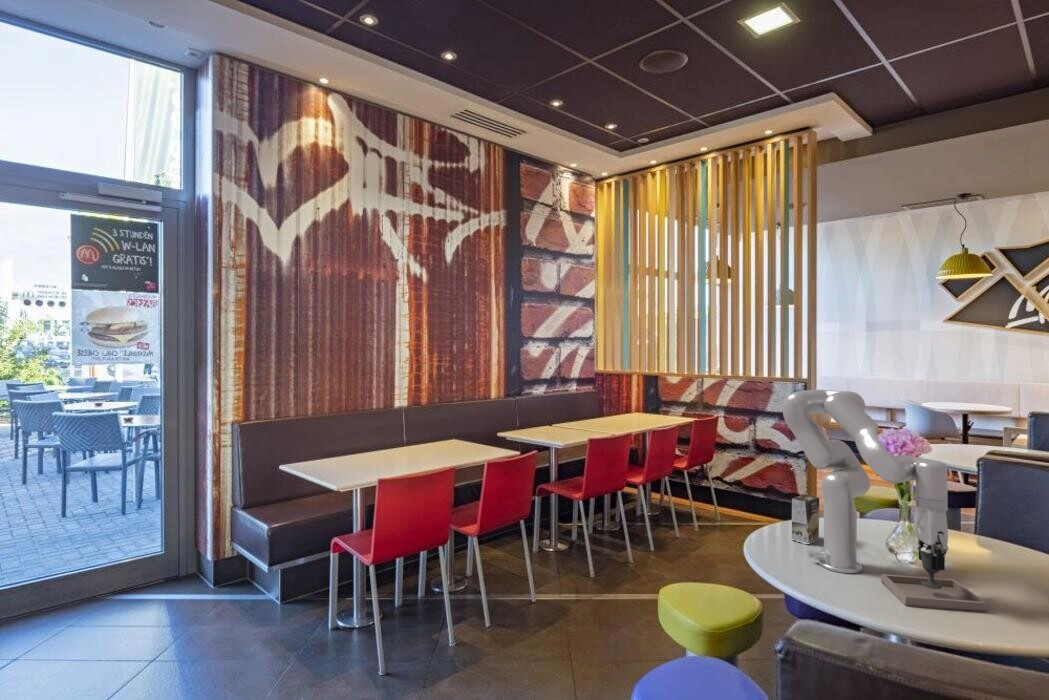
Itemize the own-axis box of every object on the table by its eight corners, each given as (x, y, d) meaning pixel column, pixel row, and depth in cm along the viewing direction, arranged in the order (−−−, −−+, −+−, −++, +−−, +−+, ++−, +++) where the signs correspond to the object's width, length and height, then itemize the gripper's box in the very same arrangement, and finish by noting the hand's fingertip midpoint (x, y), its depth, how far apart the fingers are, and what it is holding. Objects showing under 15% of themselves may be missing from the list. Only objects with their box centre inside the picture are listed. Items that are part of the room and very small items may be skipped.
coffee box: (808, 545, 203) (808, 501, 203) (791, 540, 208) (791, 498, 208) (819, 540, 209) (819, 497, 209) (802, 535, 214) (802, 493, 214)
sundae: (950, 591, 158) (950, 538, 158) (924, 589, 159) (924, 536, 159) (938, 581, 164) (938, 531, 164) (913, 580, 166) (912, 529, 166)
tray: (905, 606, 156) (905, 597, 156) (881, 582, 172) (881, 574, 172) (987, 612, 152) (987, 603, 152) (954, 587, 168) (954, 579, 168)
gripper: (902, 494, 171) (903, 553, 171) (932, 511, 154) (932, 575, 154) (930, 496, 169) (930, 554, 170) (963, 512, 153) (963, 578, 153)
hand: (931, 564), depth 162 cm, fingers closed on sundae, 6 cm apart
